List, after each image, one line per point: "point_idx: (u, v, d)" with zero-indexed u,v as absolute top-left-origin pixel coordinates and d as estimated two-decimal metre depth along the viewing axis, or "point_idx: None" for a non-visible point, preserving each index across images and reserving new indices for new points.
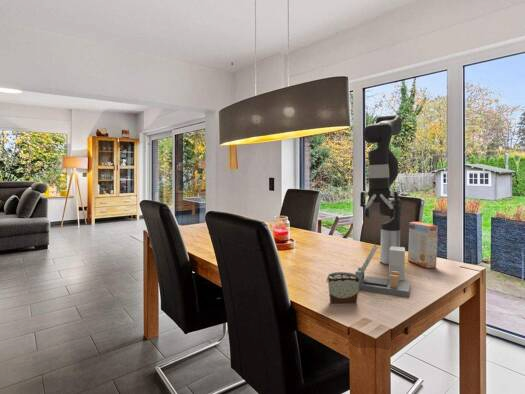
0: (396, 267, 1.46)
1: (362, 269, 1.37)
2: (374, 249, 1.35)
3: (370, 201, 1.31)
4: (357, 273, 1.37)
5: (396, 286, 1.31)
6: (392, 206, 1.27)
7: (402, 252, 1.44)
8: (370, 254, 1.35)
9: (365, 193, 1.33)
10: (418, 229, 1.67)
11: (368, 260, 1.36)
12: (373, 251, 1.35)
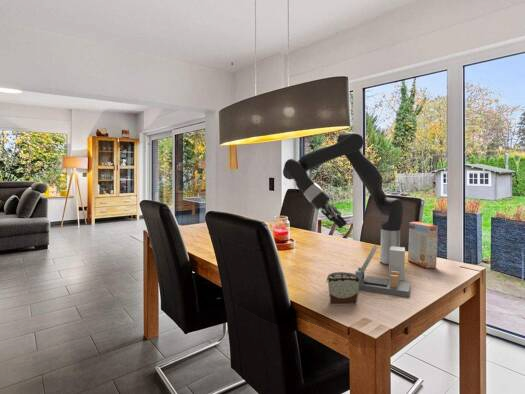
0: (396, 267, 1.46)
1: (362, 269, 1.37)
2: (374, 249, 1.35)
3: None
4: (357, 273, 1.37)
5: (396, 286, 1.31)
6: (331, 220, 1.39)
7: (402, 252, 1.44)
8: (370, 254, 1.35)
9: None
10: (418, 229, 1.67)
11: (368, 260, 1.36)
12: (373, 251, 1.35)
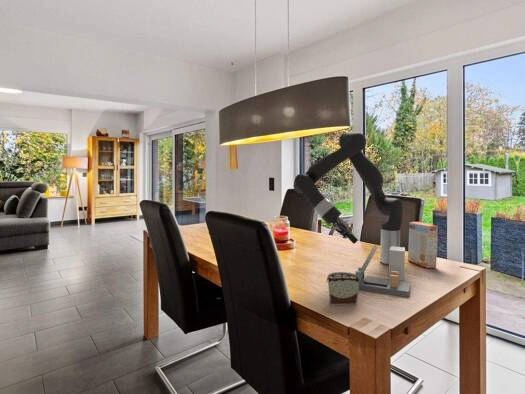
0: (396, 267, 1.46)
1: (362, 269, 1.37)
2: (374, 249, 1.35)
3: None
4: (357, 273, 1.37)
5: (396, 286, 1.31)
6: None
7: (402, 252, 1.44)
8: (370, 254, 1.35)
9: None
10: (418, 229, 1.67)
11: (368, 260, 1.36)
12: (373, 251, 1.35)
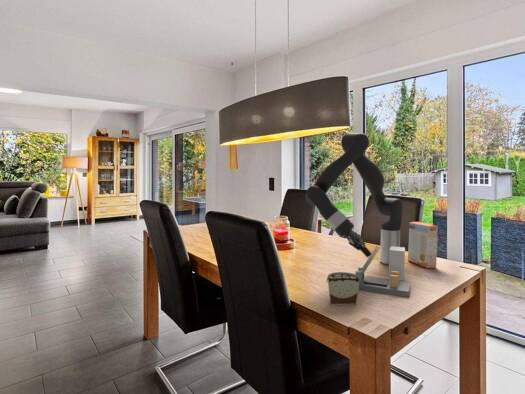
0: (396, 267, 1.46)
1: (362, 269, 1.37)
2: (376, 250, 1.34)
3: None
4: (357, 273, 1.37)
5: (396, 286, 1.31)
6: (359, 249, 1.38)
7: (402, 252, 1.44)
8: (371, 255, 1.35)
9: None
10: (418, 229, 1.67)
11: (369, 261, 1.36)
12: (375, 252, 1.35)
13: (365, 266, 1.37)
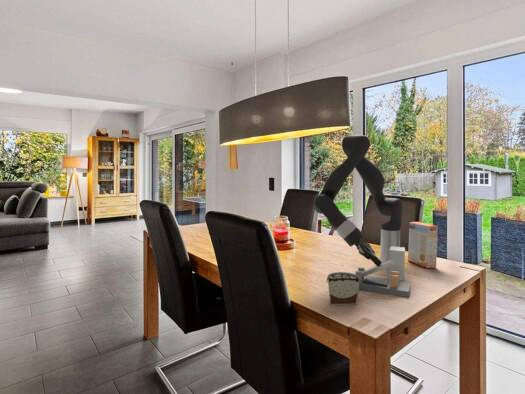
0: (396, 267, 1.46)
1: (366, 273, 1.37)
2: (389, 265, 1.32)
3: None
4: (357, 273, 1.37)
5: (396, 286, 1.31)
6: (369, 258, 1.36)
7: (402, 252, 1.44)
8: (382, 266, 1.34)
9: None
10: (418, 229, 1.67)
11: (377, 269, 1.35)
12: (387, 265, 1.33)
13: (370, 271, 1.36)
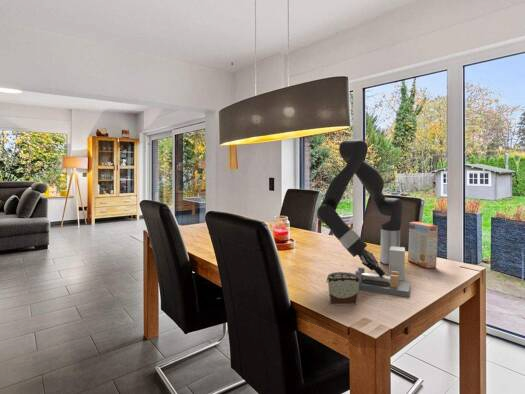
0: (396, 267, 1.46)
1: (367, 277, 1.37)
2: None
3: None
4: (357, 273, 1.37)
5: (396, 286, 1.31)
6: None
7: (402, 252, 1.44)
8: (386, 279, 1.33)
9: None
10: (418, 229, 1.67)
11: (379, 279, 1.35)
12: None
13: (372, 278, 1.36)
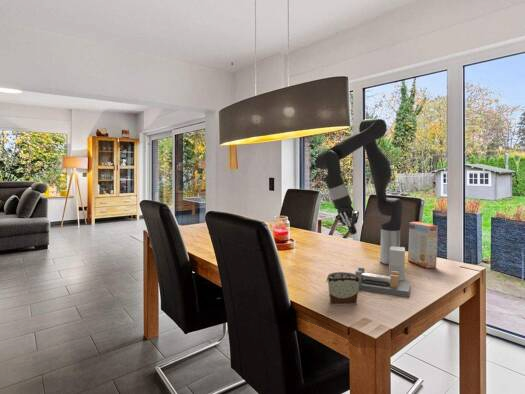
0: (396, 267, 1.46)
1: (367, 277, 1.37)
2: None
3: (343, 219, 1.45)
4: (357, 273, 1.37)
5: (396, 286, 1.31)
6: (350, 225, 1.43)
7: (402, 252, 1.44)
8: (386, 279, 1.33)
9: (338, 214, 1.48)
10: (418, 229, 1.67)
11: (379, 279, 1.35)
12: None
13: (372, 278, 1.36)
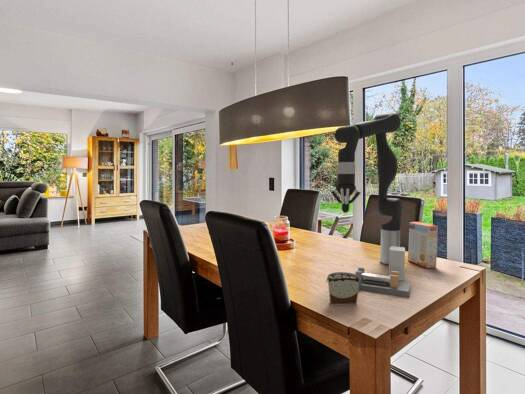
0: (396, 267, 1.46)
1: (367, 277, 1.37)
2: None
3: (342, 196, 1.46)
4: (357, 273, 1.37)
5: (396, 286, 1.31)
6: (348, 202, 1.45)
7: (402, 252, 1.44)
8: (386, 279, 1.33)
9: (334, 190, 1.48)
10: (418, 229, 1.67)
11: (379, 279, 1.35)
12: None
13: (372, 278, 1.36)
